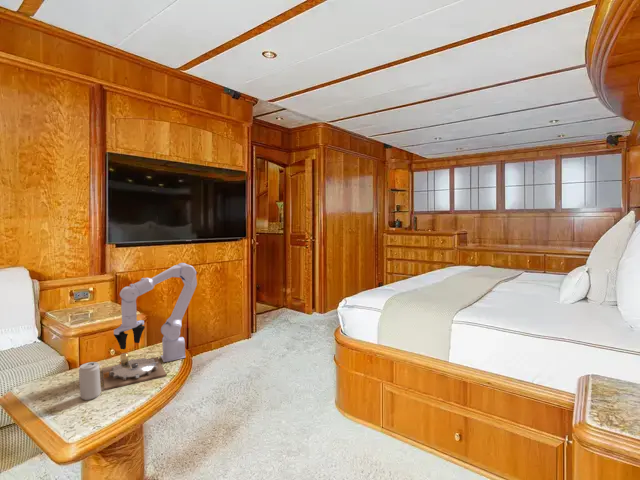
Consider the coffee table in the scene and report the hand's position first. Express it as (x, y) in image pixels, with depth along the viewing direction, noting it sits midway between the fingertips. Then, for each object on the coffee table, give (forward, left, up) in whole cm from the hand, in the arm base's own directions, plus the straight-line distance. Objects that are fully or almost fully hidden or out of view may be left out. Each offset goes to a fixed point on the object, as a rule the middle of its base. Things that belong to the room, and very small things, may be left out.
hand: (130, 345), depth 158 cm
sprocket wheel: (-1, +7, -8) cm, 11 cm away
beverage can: (+15, +20, -10) cm, 27 cm away
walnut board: (-1, +7, -10) cm, 12 cm away
